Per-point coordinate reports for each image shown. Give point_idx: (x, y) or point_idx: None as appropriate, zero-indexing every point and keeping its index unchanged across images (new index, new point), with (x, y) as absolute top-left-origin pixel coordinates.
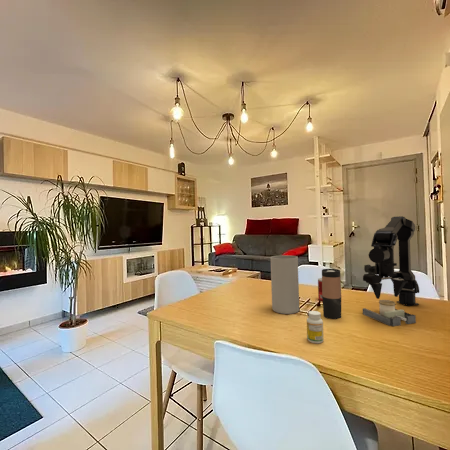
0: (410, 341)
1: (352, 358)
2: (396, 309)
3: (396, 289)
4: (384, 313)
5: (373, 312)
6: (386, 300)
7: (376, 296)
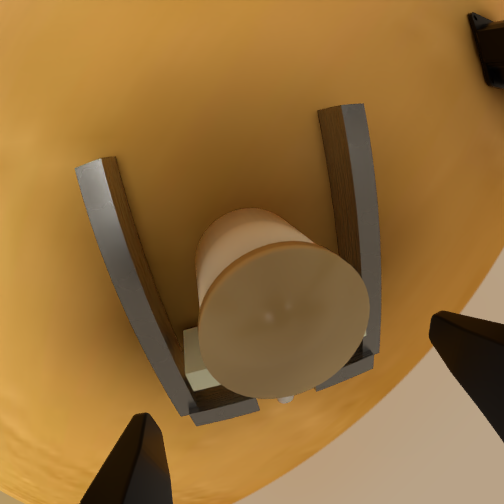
0: (182, 478)
1: (20, 488)
2: (374, 224)
3: (493, 382)
4: (186, 367)
5: (125, 291)
6: (323, 285)
7: (130, 442)
